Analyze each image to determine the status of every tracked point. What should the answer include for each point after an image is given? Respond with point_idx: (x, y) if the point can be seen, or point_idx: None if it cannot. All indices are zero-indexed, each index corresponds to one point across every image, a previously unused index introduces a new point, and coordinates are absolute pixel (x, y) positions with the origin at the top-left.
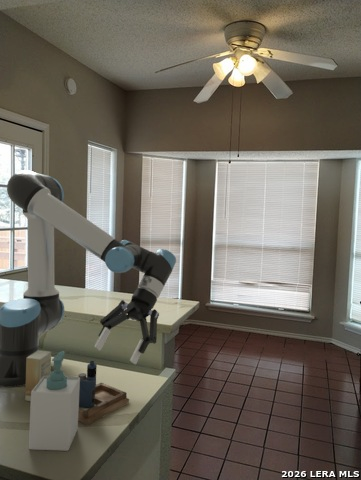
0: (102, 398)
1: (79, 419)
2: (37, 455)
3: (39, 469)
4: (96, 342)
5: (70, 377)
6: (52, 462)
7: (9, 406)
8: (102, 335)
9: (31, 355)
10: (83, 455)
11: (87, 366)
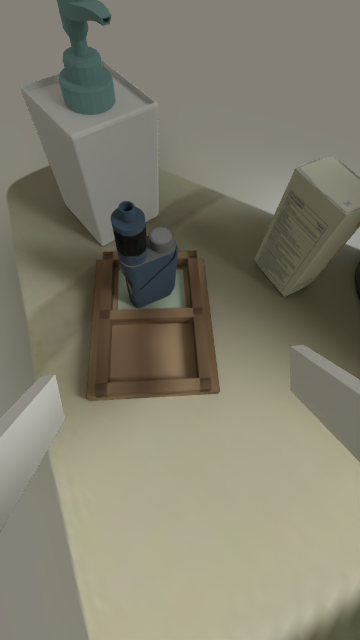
0: (148, 345)
1: None
2: None
3: None
4: (315, 352)
5: (94, 127)
6: None
7: None
8: (333, 377)
9: (342, 167)
10: (34, 211)
11: (137, 210)
